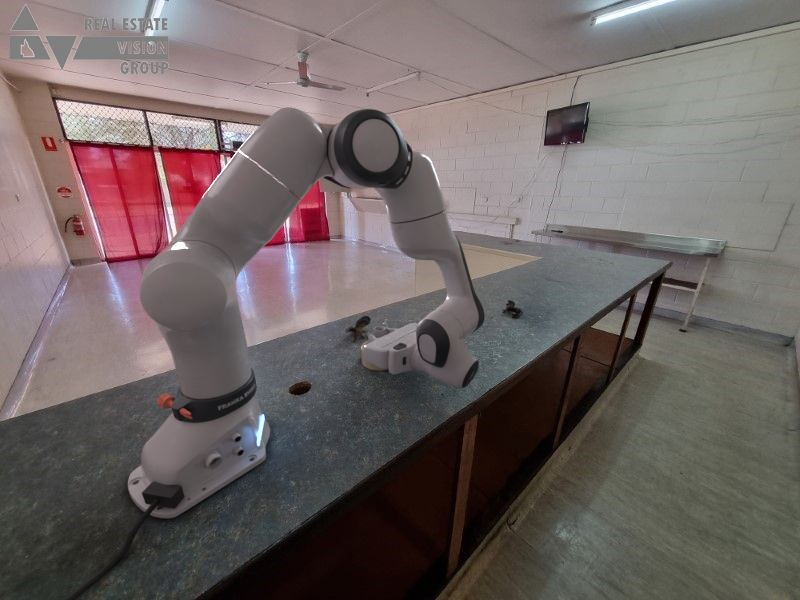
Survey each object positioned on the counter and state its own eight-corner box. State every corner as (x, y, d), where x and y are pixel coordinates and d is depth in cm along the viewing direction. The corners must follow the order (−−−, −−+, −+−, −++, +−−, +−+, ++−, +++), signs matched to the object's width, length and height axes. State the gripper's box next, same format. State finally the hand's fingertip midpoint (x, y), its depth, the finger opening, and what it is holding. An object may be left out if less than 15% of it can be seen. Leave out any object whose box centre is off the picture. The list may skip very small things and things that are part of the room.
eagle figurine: (371, 340, 99) (376, 323, 107) (358, 323, 96) (363, 308, 104) (352, 349, 102) (358, 332, 110) (339, 333, 99) (345, 317, 107)
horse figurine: (507, 330, 118) (527, 312, 126) (509, 321, 115) (529, 304, 124) (487, 320, 123) (507, 304, 131) (488, 311, 121) (509, 296, 129)
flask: (396, 358, 91) (397, 326, 88) (382, 369, 85) (382, 336, 82) (376, 350, 95) (376, 320, 91) (361, 361, 89) (360, 329, 85)
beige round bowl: (384, 374, 84) (384, 359, 82) (354, 363, 88) (354, 349, 87) (403, 357, 92) (403, 344, 90) (374, 348, 97) (374, 335, 95)
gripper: (440, 326, 86) (401, 312, 94) (389, 354, 71) (348, 334, 79) (438, 346, 88) (401, 331, 96) (388, 377, 73) (349, 356, 82)
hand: (377, 333), depth 88 cm, fingers open, 4 cm apart
